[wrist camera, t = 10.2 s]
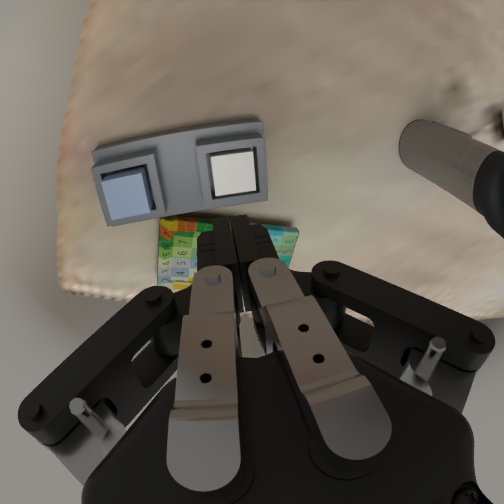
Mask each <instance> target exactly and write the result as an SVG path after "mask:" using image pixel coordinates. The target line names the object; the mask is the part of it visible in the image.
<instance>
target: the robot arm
mask: <svg viewBox="0 0 504 504" xmlns="http://www.w3.org/2000/svg"><path fill="white" fill-rule="evenodd" d="M399 151H400V157H401V159H402V161H403V163H404V165H405V166H406V167H407V168H409V169H411V170H413V171H414V172H416V173H418V174H419V175H421V176H423V177H424V178H426V179H428V180H429V181H431V182H433V183H434V184H436V185H438V186H439V187H441V188H442V189H444V190H446V191H447V192H449V193H450V194H452V195H453V196H455V197H456V198H458V199H460V200H461V201H463V202H464V203H466V204H467V205H469V206H470V207H472V208H473V209H474V210H476V211H477V212H479V213H480V214H482V215H483V216H484V217H485V219H486V221H487V223H488V224H489V225H490V227H491V228H492V229H493V230H494V231H496V232H497V233H498V234H499V235H500V236H501V237H502V238H504V152H502V151H500V150H498V149H496V148H494V147H491V146H489V145H487V144H484V143H482V142H480V141H477V140H475V139H473V138H472V136H471V135H470V134H467V133H464V132H462V131H459V130H457V129H454V128H451V127H448V126H446V125H443V124H440V123H437V122H434V121H433V122H428V121H425V120H416V121H414V122H412V123H411V124H409V125H408V126H407V127H406V128H405V130H404V132H403V133H402V136H401V139H400V144H399ZM212 224H213V230H212V231H205V232H201V233H200V235H199V236H198V238H197V272H196V274H195V275H194V277H193V281H192V284H191V285H190V286H188V287H187V288H185V289H183V290H180V291H178V292H175V293H173V292H172V291H171V289H169V288H168V287H165V286H152V287H149V288H146V289H144V290H143V291H141V292H140V293H139V294H138V295H136V296H135V297H134V298H133V299H132V300H131V301H130V302H128V303H127V304H126V305H125V306H124V307H123V308H122V309H121V310H119V311H118V312H117V313H116V314H115V315H114V316H113V317H111V318H110V320H108V321H107V322H106V323H105V324H104V325H102V326H101V327H100V328H99V329H98V330H97V331H96V332H95V333H94V334H92V335H91V336H90V337H89V338H88V339H87V340H86V341H85V342H84V343H83V344H82V345H81V346H79V348H77V349H76V350H75V351H74V352H73V353H72V354H71V355H70V356H69V357H67V358H66V359H65V360H64V361H63V362H62V363H61V364H60V365H59V366H58V367H57V368H56V369H55V370H54V371H53V372H52V373H50V374H49V375H48V376H47V377H46V378H45V379H44V380H43V381H42V382H41V383H40V384H39V385H38V386H37V387H36V388H35V389H34V390H33V391H32V392H31V393H30V394H29V395H28V396H27V397H26V398H25V399H24V400H23V401H22V403H21V404H20V407H19V410H18V420H19V423H20V425H21V426H22V427H23V428H24V429H25V430H26V431H27V432H28V433H30V434H31V435H32V436H33V437H35V438H36V439H37V441H38V442H39V443H41V444H42V445H43V446H44V447H46V448H47V449H48V450H50V451H51V452H53V453H54V454H55V455H56V457H57V458H58V459H59V460H60V461H61V462H62V463H63V464H64V465H65V467H66V468H67V469H68V470H69V471H70V472H71V473H72V474H73V475H74V476H75V477H76V478H77V479H78V480H79V482H80V483H81V484H82V485H84V488H83V491H82V504H493V503H492V502H491V501H490V500H489V499H488V498H487V497H486V496H485V495H484V494H483V493H482V491H481V490H480V489H479V487H478V484H477V481H476V476H475V469H474V437H473V432H472V429H471V426H470V424H469V422H468V421H467V420H466V418H465V417H464V416H463V415H462V411H463V408H464V406H465V403H466V401H467V397H468V395H469V392H470V389H471V386H472V383H473V380H474V377H475V375H476V373H477V372H478V371H479V369H480V368H481V366H482V365H483V363H484V362H485V361H486V359H487V357H488V356H489V354H490V353H491V352H492V350H493V348H494V346H495V338H494V335H493V333H492V331H491V330H490V329H489V328H488V327H487V326H486V325H484V324H483V323H481V322H478V321H476V320H474V319H472V318H470V317H467V316H465V315H463V314H461V313H458V312H456V311H454V310H452V309H449V308H447V307H445V306H442V305H440V304H438V303H436V302H433V301H431V300H429V299H426V298H424V297H422V296H419V295H417V294H415V293H412V292H410V291H408V290H405V289H403V288H401V287H398V286H396V285H394V284H391V283H389V282H386V281H384V280H382V279H379V278H377V277H374V276H372V275H370V274H367V273H365V272H362V271H360V270H358V269H355V268H353V267H350V266H348V265H345V264H343V263H340V262H337V261H322V262H319V263H317V264H316V265H315V266H314V267H313V268H312V272H298V271H293V270H290V269H289V268H288V266H287V264H286V263H285V262H284V261H282V260H280V259H279V257H278V254H277V252H276V249H275V247H274V244H273V242H272V239H271V237H270V235H269V232H268V230H267V228H265V227H264V226H263V225H261V224H254V225H250V224H249V221H248V218H247V215H246V214H245V215H238V216H231V217H230V222H229V217H224V218H217V219H212ZM230 224H231V227H230ZM241 291H242V292H241ZM242 296H243V301H244V306H245V311H246V312H247V311H252V315H253V324H254V329H255V332H256V335H257V338H258V341H259V344H260V347H261V350H262V352H263V355H264V356H262V357H259V358H245V357H242V347H241V334H240V321H241V320H240V313H242V312H244V309H243V301H242ZM346 307H347V308H349V309H351V310H353V311H355V312H357V313H359V314H362V315H364V316H366V317H368V318H369V319H371V320H372V322H373V323H374V326H375V327H373V326H371V325H369V324H367V323H365V322H363V321H361V320H358V319H356V318H354V317H352V316H350V315H348V314H346V313H345V311H346ZM149 340H150V341H151V343H150V344H149V345H148V346H147V347H146V348H145V349H144V350H143V351H142V352H141V353H140V354H139V355H138V356H137V357H136V358H135V359H134V360H133V361H132V358H133V356H134V355H135V354H136V353H137V352H138V351H139V350H140V349H141V348H142V347H143V346H144V345H145V344H146V343H147V342H148V341H149ZM131 361H132V362H131ZM176 370H177V377H176V378H174V379H173V380H171V381H170V382H169V383H168V384H166V385H165V386H164V387H163V388H162V389H161V390H160V392H159V393H158V394H157V395H156V396H155V398H154V399H153V400H152V401H151V402H150V404H149V405H148V406H147V408H146V409H145V410H144V411H143V412H142V413H141V415H140V416H139V417H138V418H137V420H136V421H135V422H134V423H133V424H132V425H131V427H130V428H129V429H128V430H127V431H126V430H125V427H126V426H127V425H128V424H129V423H130V422H131V421H132V420H133V419H134V417H135V416H136V415H137V414H138V413H139V412H140V410H142V408H143V407H144V406H145V405H146V404H147V403H148V402H149V400H150V399H151V398H152V397H153V396H154V395H155V394H156V393H157V392H158V390H159V389H160V388H161V387H162V386H163V385H164V384H165V382H166V381H167V380H168V379H169V378H170V377H171V376H172V375H173V373H174V372H175V371H176Z"/></svg>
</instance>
